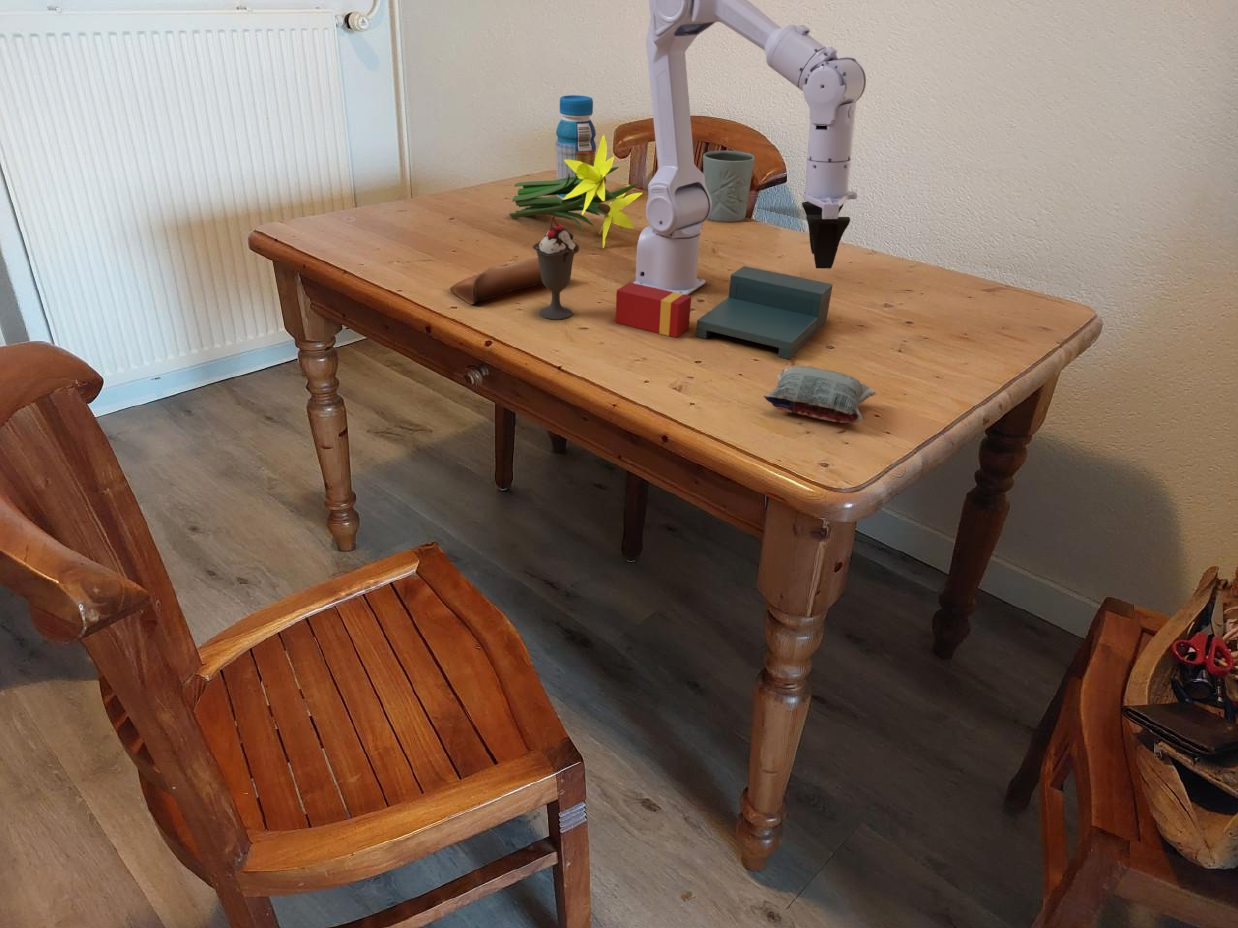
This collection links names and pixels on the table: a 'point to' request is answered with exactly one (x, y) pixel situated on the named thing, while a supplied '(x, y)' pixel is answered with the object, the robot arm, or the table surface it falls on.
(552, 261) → the sundae
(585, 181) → the daffodil flowers
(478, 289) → the sunglasses case
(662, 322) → the candy bar
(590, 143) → the beverage bottle
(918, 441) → the table surface
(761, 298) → the shelf rack
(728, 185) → the sage green ceramic cup
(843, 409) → the packaged food
